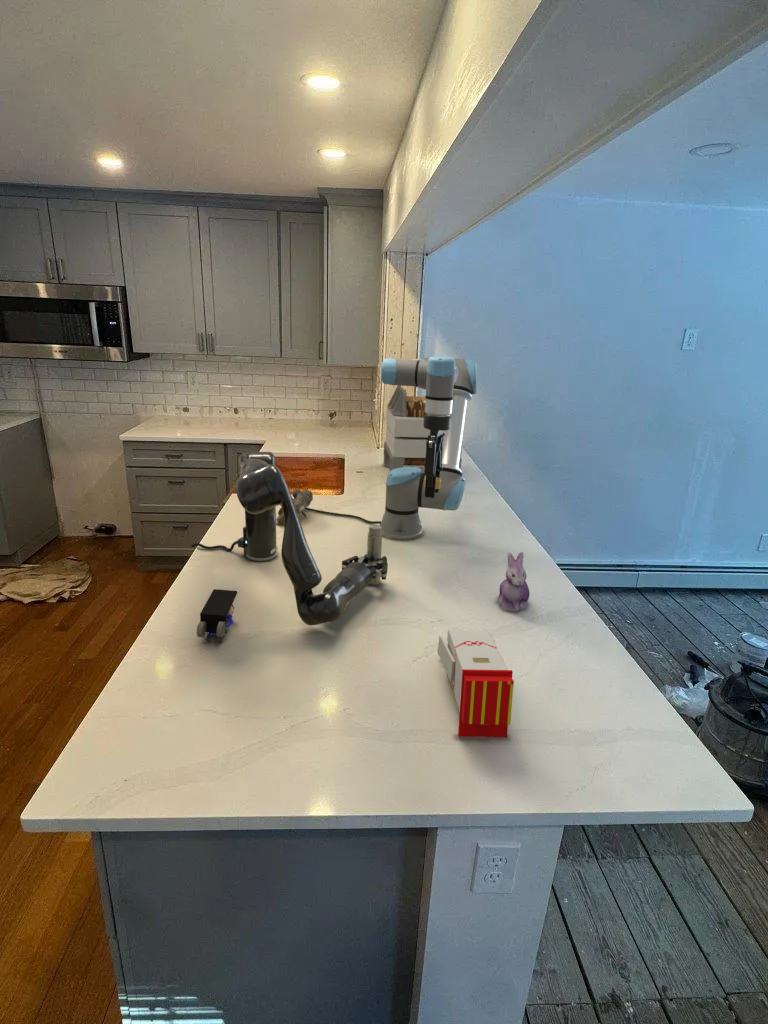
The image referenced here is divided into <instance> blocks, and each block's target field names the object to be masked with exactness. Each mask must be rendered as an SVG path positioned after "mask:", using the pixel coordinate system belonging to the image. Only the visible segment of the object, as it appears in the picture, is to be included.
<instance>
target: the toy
mask: <svg viewBox="0 0 768 1024" xmlns="http://www.w3.org/2000/svg"><path fill="white" fill-rule="evenodd" d="M446 640H447V643H446V641H445V639H444V636H443V635H442V634H439V637H438V646H437V656H438V657H439V659H440V661H441V663H442V666H443V668H444V670H445V672H446V674H447V677H448V679H449V681H450V684H451V687H452V690H453V693H454V697H455V701H456V705H457V708H458V711H459V714H458V715H459V716H458V730H457V731H458V732H457V737H458V738H508V731H509V726H510V725H511V717H512V707H513V697H514V696H513V695H514V684H515V680H514V679H513V673H514V671H513V670H512V669H508V667H507V665H506V662H505V661H504V659H503V658H502V655H501V653H500V651H499V649H498V647H497V643H496V639H495V637H494V635H493V634H491V632H490V631H489V629H467V628H466V629H465V628H463V629H461V628H460V629H459V628H448V630H447V639H446Z"/></svg>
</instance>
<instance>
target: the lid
mask: <svg viewBox="0 0 768 1024" xmlns="http://www.w3.org/2000/svg"><path fill="white" fill-rule="evenodd" d="M425 484H426V477H425V480H424V487H425ZM439 488H441V478H439V477H436V483H435V489H439Z"/></svg>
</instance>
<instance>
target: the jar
mask: <svg viewBox="0 0 768 1024" xmlns="http://www.w3.org/2000/svg"><path fill="white" fill-rule="evenodd" d="M381 530H382V529H381V526H380V524H369V525H368V533H367V542H366V543H367V544H366V554H367V564H370V563H372V562H374V561H375V562H377V561H379V560H380V559H381V558H382V549H383V547H382V546H383V535H382V533H381ZM380 571H381V570H380ZM378 572H379V571H378ZM380 583H381V577H378V576H376V578H374V579H372V580H371V581H370V583H369V584H368V586H378V585H380Z"/></svg>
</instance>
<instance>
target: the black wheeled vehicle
mask: <svg viewBox="0 0 768 1024" xmlns="http://www.w3.org/2000/svg"><path fill="white" fill-rule="evenodd" d="M237 595H238V590H233V589H220V588H219V589H217V588H213V589H212V591H211V593H210V595H209V596H208V599H207V600H206V602H205V604H204V605H203V607H202V609H201V611H200V612H199V622H198V624H197V628H196V637H199V638H204V637H205V635H206V633H207V635H206V637H205V639H204V640H205V642H206V643H207V642H209V641H210V638H211V636H212V635H213V636H216V637H217V642H221V641H222V639H223V638H224V637H225V635H227V633H228V631H227V630H228V629H229V627H231V626H232V625H233V623H234V621H233V615H234V613H235V606H234V602H235V600H236V597H237ZM227 620H229V622H228V621H227ZM227 622H228V623H227Z"/></svg>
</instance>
